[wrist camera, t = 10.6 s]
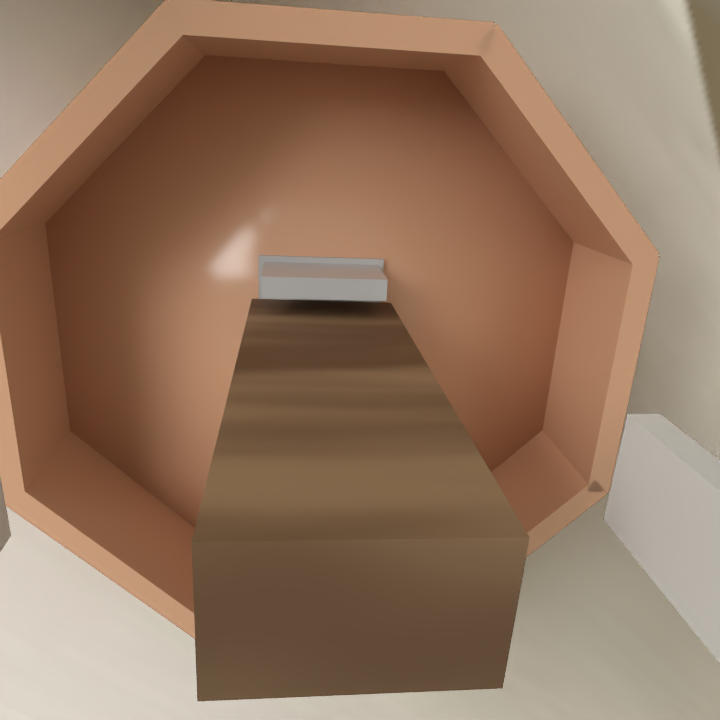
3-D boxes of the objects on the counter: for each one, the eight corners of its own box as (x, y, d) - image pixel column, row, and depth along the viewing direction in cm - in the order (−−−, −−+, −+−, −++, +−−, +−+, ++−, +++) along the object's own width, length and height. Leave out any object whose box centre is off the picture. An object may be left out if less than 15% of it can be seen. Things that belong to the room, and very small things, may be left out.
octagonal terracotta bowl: (-5, 8, 19) (-102, -34, 14) (622, 53, 21) (714, 30, 17) (68, 559, 26) (18, 653, 21) (536, 548, 28) (584, 630, 23)
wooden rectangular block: (251, 298, 22) (191, 541, 9) (391, 303, 22) (529, 537, 9) (251, 377, 23) (197, 700, 10) (384, 379, 23) (502, 688, 10)
